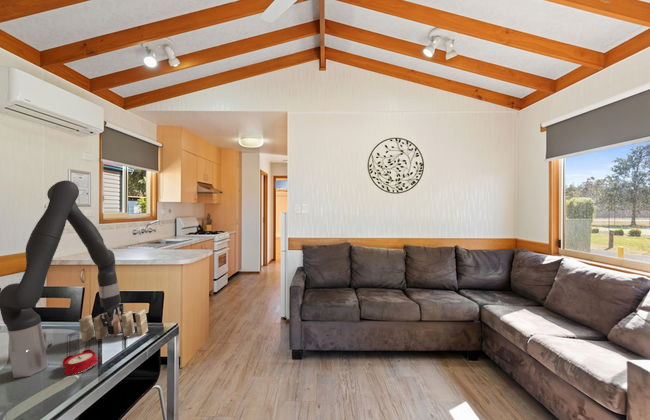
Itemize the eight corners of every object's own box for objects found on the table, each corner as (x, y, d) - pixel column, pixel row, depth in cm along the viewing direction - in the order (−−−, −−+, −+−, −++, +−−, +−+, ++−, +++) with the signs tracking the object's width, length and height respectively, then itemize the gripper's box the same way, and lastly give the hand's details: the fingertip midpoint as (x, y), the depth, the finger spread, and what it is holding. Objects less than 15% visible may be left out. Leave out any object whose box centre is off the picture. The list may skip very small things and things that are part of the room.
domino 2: (108, 334, 151) (104, 313, 150) (101, 340, 146) (97, 318, 145) (103, 335, 151) (100, 314, 150) (96, 340, 146) (93, 318, 145)
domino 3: (134, 331, 151) (131, 310, 150) (128, 337, 146) (125, 315, 145) (130, 332, 151) (127, 311, 150) (124, 337, 146) (121, 315, 145)
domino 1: (94, 336, 150) (91, 315, 150) (87, 341, 145) (83, 319, 145) (90, 336, 150) (86, 315, 150) (82, 341, 145) (79, 320, 145)
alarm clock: (66, 370, 114) (57, 349, 124) (68, 386, 116) (59, 363, 126) (101, 357, 122) (90, 338, 132) (102, 371, 123) (92, 352, 133)
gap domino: (110, 336, 146) (107, 314, 145) (116, 331, 151) (113, 310, 150) (115, 336, 146) (111, 314, 145) (121, 331, 151) (118, 309, 150)
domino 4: (148, 330, 151) (145, 309, 151) (142, 335, 146) (139, 313, 146) (143, 331, 151) (140, 309, 150) (138, 336, 146) (134, 314, 145)
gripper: (110, 289, 154) (116, 325, 155) (90, 300, 140) (96, 339, 141) (127, 288, 154) (132, 323, 156) (108, 298, 140) (114, 337, 141)
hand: (115, 330), depth 148 cm, fingers closed on gap domino, 5 cm apart
